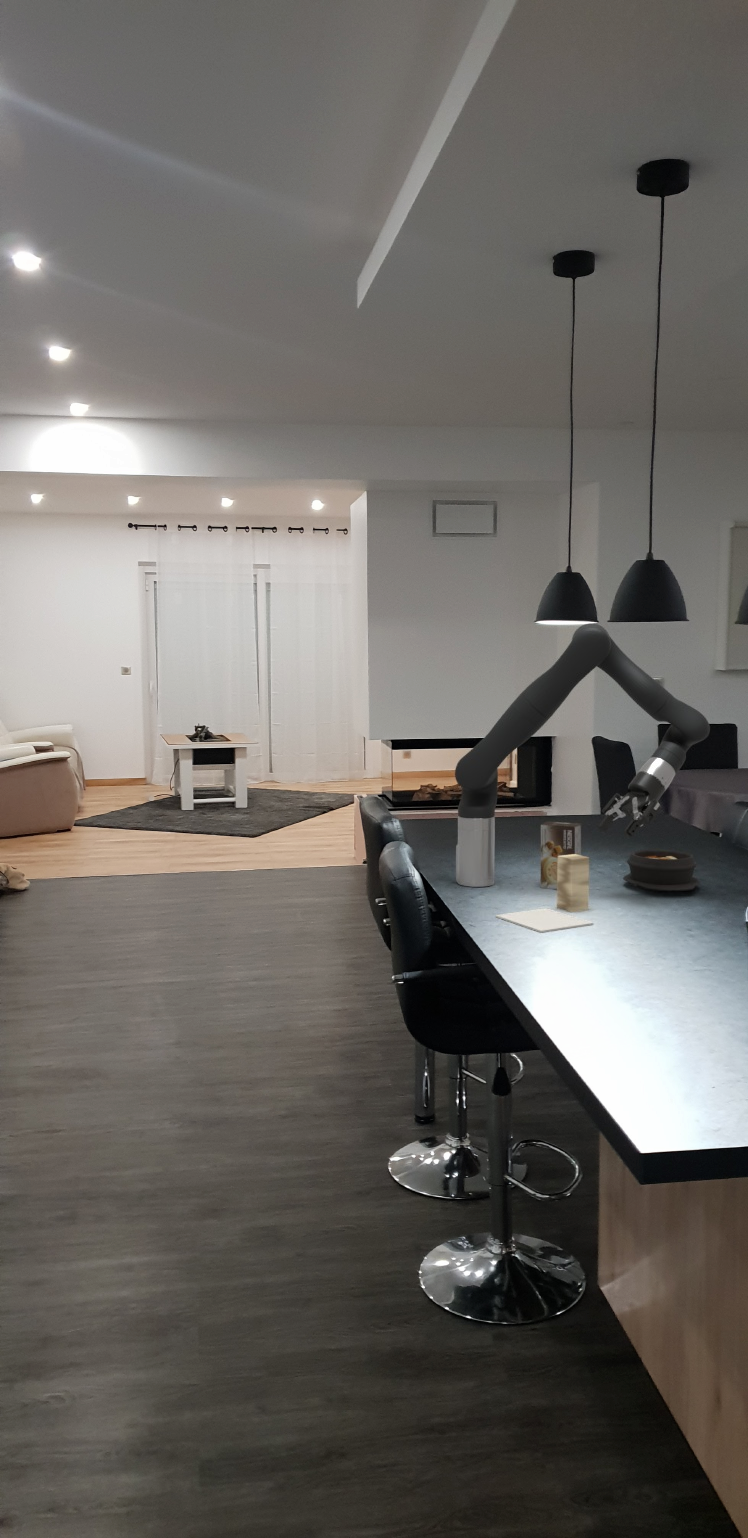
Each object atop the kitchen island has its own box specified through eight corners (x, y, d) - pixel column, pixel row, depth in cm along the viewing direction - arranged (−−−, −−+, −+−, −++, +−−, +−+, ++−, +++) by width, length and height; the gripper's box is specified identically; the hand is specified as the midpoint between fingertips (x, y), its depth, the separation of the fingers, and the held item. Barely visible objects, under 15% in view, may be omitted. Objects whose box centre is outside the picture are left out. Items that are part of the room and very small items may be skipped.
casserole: (711, 898, 252) (712, 863, 251) (631, 897, 253) (632, 862, 253) (687, 878, 277) (688, 846, 276) (615, 877, 278) (616, 845, 278)
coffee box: (582, 886, 266) (583, 823, 264) (574, 891, 260) (576, 826, 258) (547, 883, 270) (548, 820, 268) (539, 888, 264) (539, 824, 263)
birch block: (556, 907, 242) (557, 855, 241) (573, 905, 245) (574, 854, 243) (571, 912, 238) (572, 859, 237) (588, 909, 240) (589, 857, 239)
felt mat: (495, 917, 233) (495, 915, 233) (546, 909, 240) (546, 908, 240) (541, 932, 219) (541, 930, 219) (593, 924, 226) (593, 922, 226)
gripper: (622, 767, 255) (584, 818, 250) (666, 772, 242) (626, 826, 238) (638, 788, 258) (601, 839, 253) (682, 794, 245) (644, 847, 241)
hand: (613, 832), depth 245 cm, fingers open, 8 cm apart
